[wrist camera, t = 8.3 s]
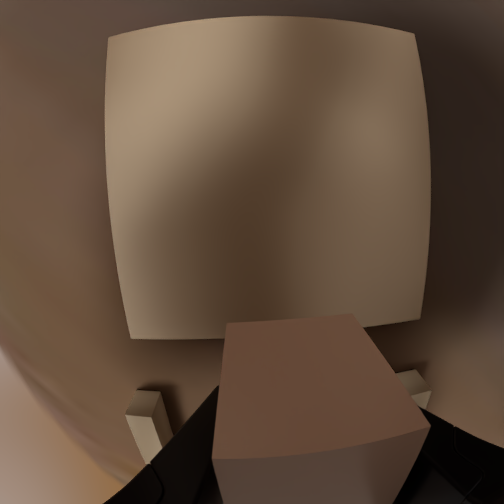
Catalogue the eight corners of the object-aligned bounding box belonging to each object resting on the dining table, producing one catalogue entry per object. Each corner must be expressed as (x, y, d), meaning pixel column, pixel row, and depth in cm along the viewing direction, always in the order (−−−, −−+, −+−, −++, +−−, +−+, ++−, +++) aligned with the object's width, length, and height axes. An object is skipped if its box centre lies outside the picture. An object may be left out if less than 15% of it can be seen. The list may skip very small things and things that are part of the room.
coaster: (410, 36, 8) (414, 33, 7) (416, 315, 10) (419, 318, 10) (112, 40, 8) (108, 37, 7) (133, 334, 10) (131, 338, 10)
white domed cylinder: (346, 476, 12) (378, 584, 5) (213, 487, 12) (205, 602, 5) (382, 275, 10) (530, 406, 3) (171, 289, 10) (68, 467, 3)
